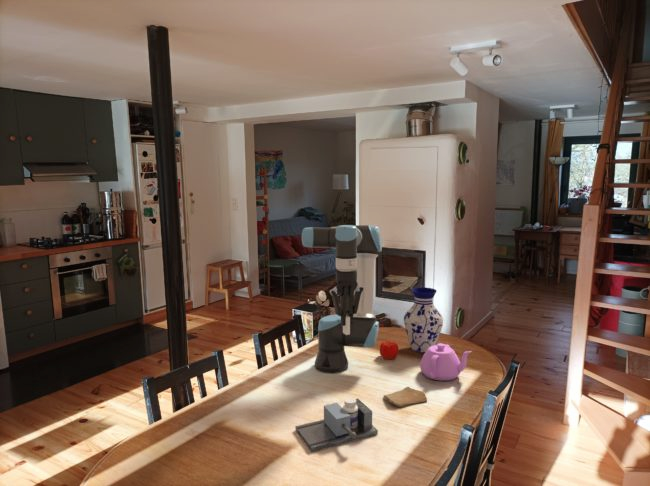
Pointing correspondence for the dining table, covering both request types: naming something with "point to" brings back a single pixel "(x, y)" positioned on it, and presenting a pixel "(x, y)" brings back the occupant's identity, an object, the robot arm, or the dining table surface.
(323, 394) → the dining table surface
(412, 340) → the vase
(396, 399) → the stone
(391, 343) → the tomato
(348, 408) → the pill bottle
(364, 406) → the vise
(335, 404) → the block
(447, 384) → the dining table surface
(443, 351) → the teapot
